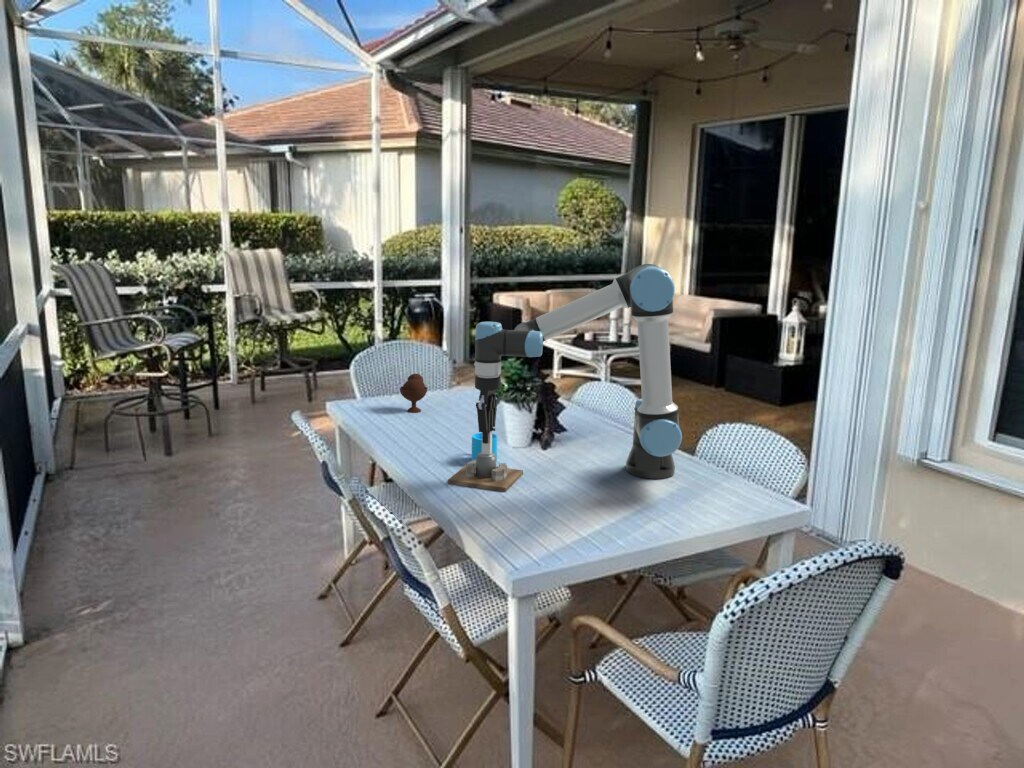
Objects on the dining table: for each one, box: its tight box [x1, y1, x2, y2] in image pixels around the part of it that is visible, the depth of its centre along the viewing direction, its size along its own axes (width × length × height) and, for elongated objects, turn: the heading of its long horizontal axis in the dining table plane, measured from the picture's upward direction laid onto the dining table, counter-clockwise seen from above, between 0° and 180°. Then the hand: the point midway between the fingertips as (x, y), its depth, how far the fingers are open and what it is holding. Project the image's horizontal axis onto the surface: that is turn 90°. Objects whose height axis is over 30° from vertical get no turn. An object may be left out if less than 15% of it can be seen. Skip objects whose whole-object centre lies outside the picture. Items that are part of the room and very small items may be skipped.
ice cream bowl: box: [399, 373, 429, 414], centre depth 295 cm, size 11×11×15 cm
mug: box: [471, 432, 498, 463], centre depth 241 cm, size 12×8×8 cm
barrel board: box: [447, 460, 524, 493], centre depth 223 cm, size 18×16×4 cm
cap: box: [476, 452, 497, 478], centre depth 223 cm, size 6×6×6 cm
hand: (486, 452), depth 222 cm, fingers closed
